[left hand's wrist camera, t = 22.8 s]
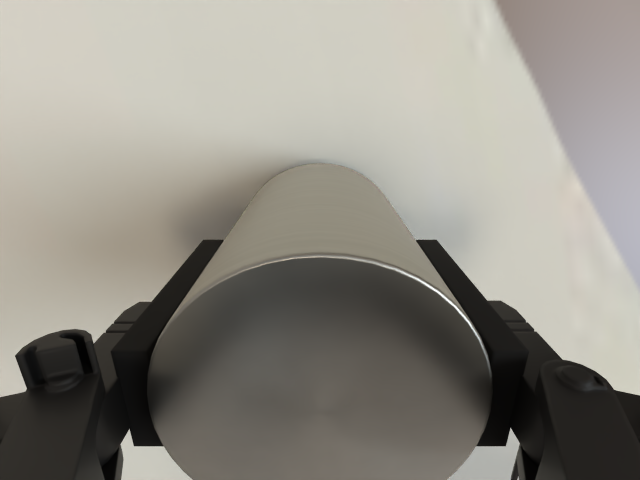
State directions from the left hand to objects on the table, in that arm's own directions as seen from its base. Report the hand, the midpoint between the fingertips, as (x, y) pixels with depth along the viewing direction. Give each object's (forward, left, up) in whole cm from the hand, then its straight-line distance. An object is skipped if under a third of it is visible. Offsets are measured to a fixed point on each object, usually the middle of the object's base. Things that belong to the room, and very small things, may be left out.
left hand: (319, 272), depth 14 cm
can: (0, 0, -3) cm, 3 cm away
